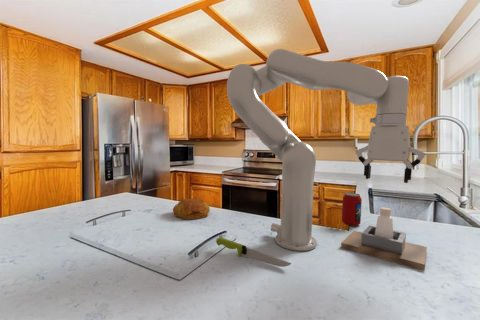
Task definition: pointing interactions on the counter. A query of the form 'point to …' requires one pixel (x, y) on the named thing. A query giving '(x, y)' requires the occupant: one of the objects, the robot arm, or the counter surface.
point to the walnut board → (410, 255)
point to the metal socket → (384, 241)
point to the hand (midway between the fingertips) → (386, 180)
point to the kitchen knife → (251, 253)
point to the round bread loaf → (191, 209)
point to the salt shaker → (384, 224)
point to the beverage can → (351, 209)
